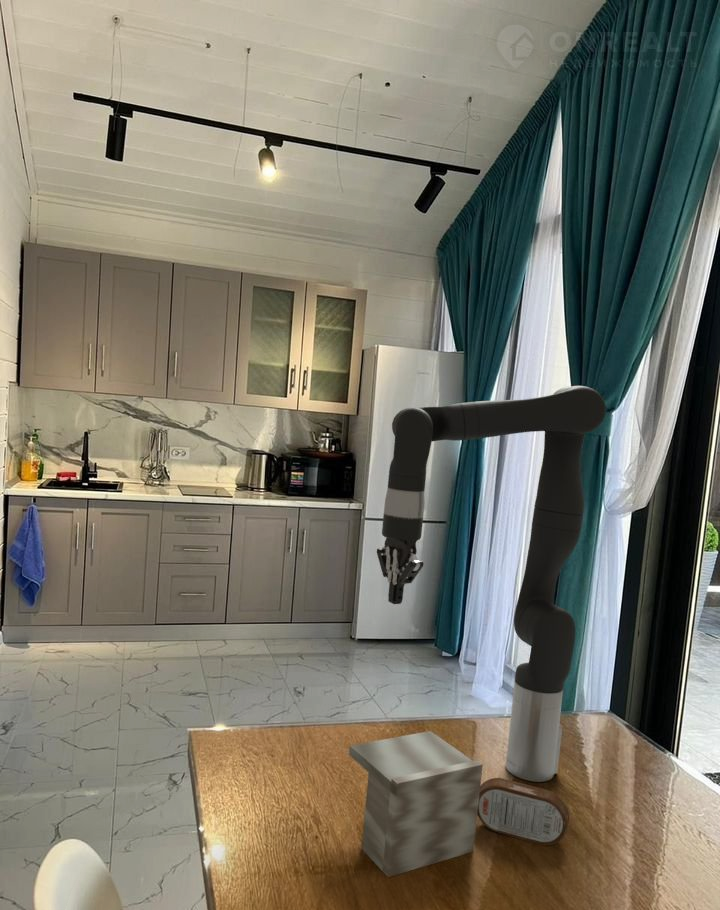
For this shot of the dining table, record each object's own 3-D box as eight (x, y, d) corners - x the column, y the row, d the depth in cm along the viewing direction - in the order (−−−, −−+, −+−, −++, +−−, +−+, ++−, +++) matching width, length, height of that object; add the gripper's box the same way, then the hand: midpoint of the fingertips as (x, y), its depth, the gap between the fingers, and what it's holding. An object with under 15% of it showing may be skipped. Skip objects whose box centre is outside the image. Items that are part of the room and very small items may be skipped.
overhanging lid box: (422, 807, 125) (430, 728, 124) (473, 851, 114) (482, 764, 113) (341, 827, 117) (350, 742, 116) (387, 877, 105) (397, 783, 104)
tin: (566, 843, 118) (572, 793, 118) (565, 854, 115) (571, 802, 115) (474, 819, 123) (479, 770, 123) (471, 828, 120) (476, 779, 120)
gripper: (440, 519, 134) (431, 611, 135) (400, 507, 145) (392, 593, 146) (407, 519, 130) (397, 614, 131) (368, 507, 142) (360, 594, 143)
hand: (394, 602), depth 139 cm, fingers closed
